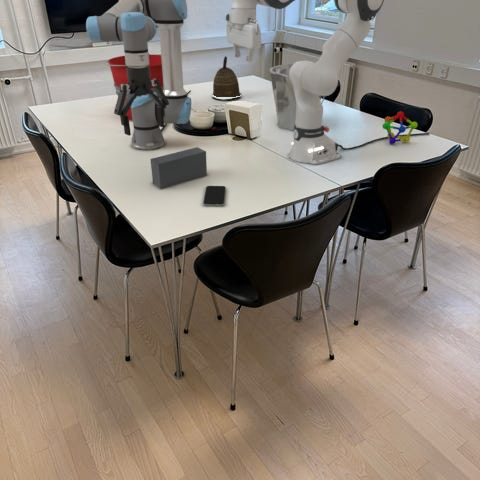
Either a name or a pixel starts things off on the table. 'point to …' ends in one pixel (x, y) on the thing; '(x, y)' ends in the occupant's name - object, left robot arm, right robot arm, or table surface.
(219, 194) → the smartphone
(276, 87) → the bucket
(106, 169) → the table surface
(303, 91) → the right robot arm
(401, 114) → the educational toy
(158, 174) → the box
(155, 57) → the bucket
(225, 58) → the bell
